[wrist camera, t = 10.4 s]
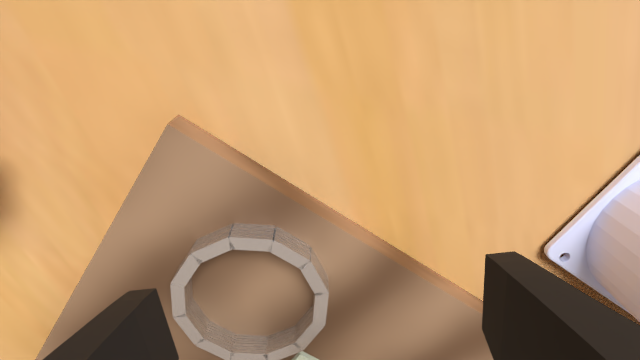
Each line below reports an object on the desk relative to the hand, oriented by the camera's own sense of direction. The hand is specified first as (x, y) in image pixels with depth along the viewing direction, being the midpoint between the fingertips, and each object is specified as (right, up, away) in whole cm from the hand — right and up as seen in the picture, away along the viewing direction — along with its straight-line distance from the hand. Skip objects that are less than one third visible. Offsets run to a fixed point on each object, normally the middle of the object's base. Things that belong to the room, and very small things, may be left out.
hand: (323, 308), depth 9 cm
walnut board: (-2, -6, +14) cm, 15 cm away
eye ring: (-3, -2, +11) cm, 11 cm away
